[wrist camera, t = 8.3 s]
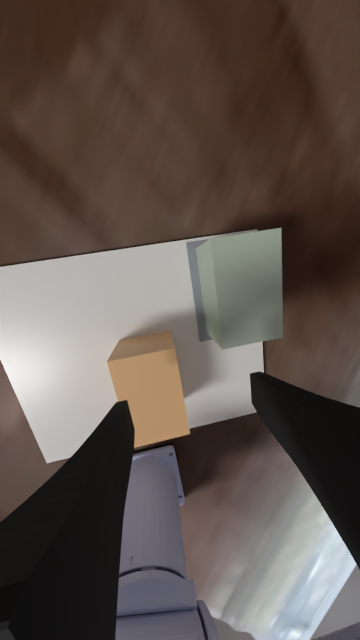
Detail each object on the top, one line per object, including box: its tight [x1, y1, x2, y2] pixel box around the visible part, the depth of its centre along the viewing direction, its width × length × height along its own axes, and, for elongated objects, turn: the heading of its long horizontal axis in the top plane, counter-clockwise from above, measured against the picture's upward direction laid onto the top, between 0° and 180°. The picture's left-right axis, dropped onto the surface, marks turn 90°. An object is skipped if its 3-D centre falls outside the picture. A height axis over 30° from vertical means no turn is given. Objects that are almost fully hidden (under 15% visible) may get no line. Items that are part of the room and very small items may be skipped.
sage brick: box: [196, 228, 283, 350], centre depth 15 cm, size 8×5×4 cm, turn 9°
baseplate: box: [0, 229, 264, 463], centre depth 18 cm, size 20×25×1 cm
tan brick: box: [107, 331, 190, 448], centre depth 16 cm, size 8×5×4 cm, turn 9°
